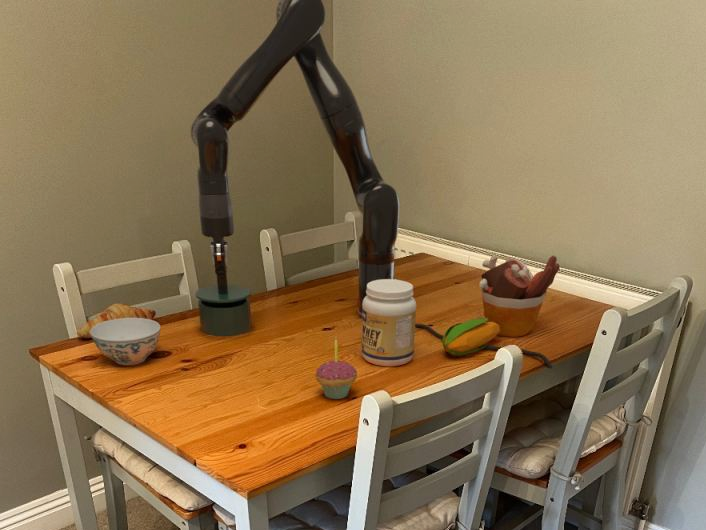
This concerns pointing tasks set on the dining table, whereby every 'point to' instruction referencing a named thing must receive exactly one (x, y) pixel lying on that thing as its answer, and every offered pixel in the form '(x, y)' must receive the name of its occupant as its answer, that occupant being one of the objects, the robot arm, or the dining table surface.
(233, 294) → the lid
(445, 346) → the corn
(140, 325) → the chinaware
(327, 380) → the cupcake
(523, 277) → the bucket of meat
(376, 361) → the supplement tub
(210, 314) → the pot
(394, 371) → the dining table surface
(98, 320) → the croissant
